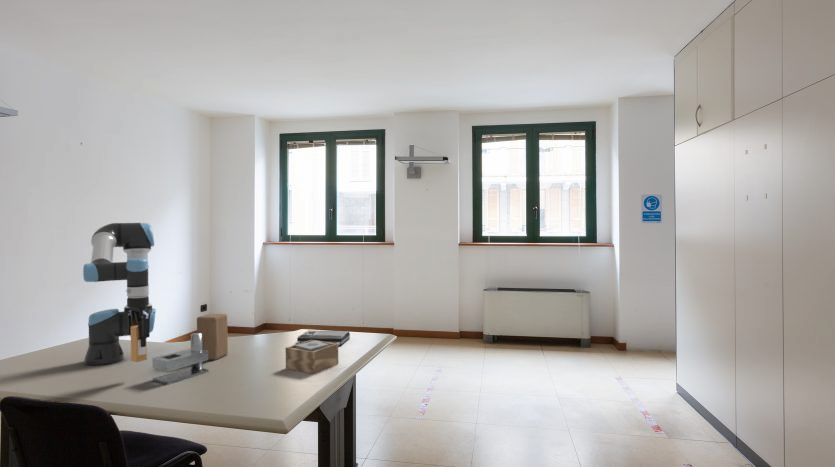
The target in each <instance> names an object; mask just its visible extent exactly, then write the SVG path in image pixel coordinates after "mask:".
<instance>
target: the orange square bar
mask: <svg viewBox="0 0 835 467" xmlns="http://www.w3.org/2000/svg"><path fill="white" fill-rule="evenodd" d="M137 338H139V332H138V325H136V326H131V337H130V361H131V362H134V363H140V362H143V361H146V360H147V355H148V354H147V352H148V351H147V350H148V348H147V345H148V344H146V354H144V355H140V356H139V355H138V339H137Z"/></svg>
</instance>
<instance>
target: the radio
mask: <svg viewBox="0 0 835 467" xmlns="http://www.w3.org/2000/svg"><path fill="white" fill-rule="evenodd" d="M350 337H351V334H350V332H349V331H348V330H347V331H346V330H345V331H344V330H307V331H305V332H303V333H302V334H300V335H298V337H297V338H296V339H297V340H296V341H295V344H294V345H296V344H299V343H302V342H306V341H309V340H317V341H323V342H330V343H336V344H338V347H342V346H343V345H344V344H346V343H347V342H348V341H349V340H350V339H351V338H350Z"/></svg>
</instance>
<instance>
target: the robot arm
mask: <svg viewBox="0 0 835 467" xmlns="http://www.w3.org/2000/svg"><path fill="white" fill-rule="evenodd" d="M154 239H155V238H154V232H153V228H152V225H151V224H150V223H145V222H112V223H109V224H106V225H103V226H101V227H100V228H98V229H96V231H95V232H94V233H93V235H92V236H91V239H90V240H91V241H90V243H91V246H92V252H91V259H90V262H89V263H85V264H84V265H83V269H82V270H83V273H82V275H83V281H84V282H86V283H88V282H89V283H97V282H98V283H99V282H110V281H111V282H115V281H126V290H125V292H126V296H127V298H126V305H125V306H124V307H123V311H120V310H119V309H118V308H110V309H103V310H100V311H99V310H98V311H96V312H93V313H92V314H90V315H89V316H88V324H87V326H88V347H87V351H86V354H85V356H84V358H83V360H84V363H83V364H84V365H85V366H102V365H110V364H113V363H117V362H120V361H122V360H124V357H125V353H124V351H123V348H122V347H121V344H120V338H121V337H128V336H129V337H130V338H131V326H136V325H138V332H139V338H137V339H138V355H139V356H140V355H144V354H146V345H147V339H148V338H150V333H152V332H153V330H154V328H155V322H156V321H155V320H156V311H157V310H156V308H153V304H152V303H150V299H149V298H150V297H149V292H150V291H149V290H150V289H149V268H150V267H149V261H148V260H149V259H148V258H149V255H148V254H149V252H151V251H152V247H154V246H155V240H154ZM115 248H122V251H123V252H124V253H125V254H126V261H121V262H114V259H113V258H114V249H115Z"/></svg>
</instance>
